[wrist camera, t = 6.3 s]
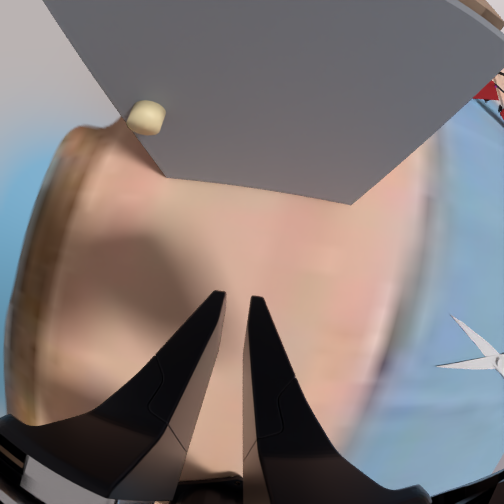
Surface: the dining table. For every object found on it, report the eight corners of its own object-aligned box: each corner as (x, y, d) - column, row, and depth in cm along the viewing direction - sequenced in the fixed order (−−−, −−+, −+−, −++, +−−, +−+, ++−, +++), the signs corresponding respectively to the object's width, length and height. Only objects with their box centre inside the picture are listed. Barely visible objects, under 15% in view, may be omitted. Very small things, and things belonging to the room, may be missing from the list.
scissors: (518, 413, 14) (417, 407, 15) (514, 411, 15) (412, 404, 16) (546, 327, 15) (463, 273, 16) (542, 326, 16) (457, 274, 17)
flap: (350, 217, 16) (530, 74, 2) (163, 188, 17) (22, 13, 2) (351, 193, 17) (505, 35, 2) (169, 166, 17) (56, -18, 3)
